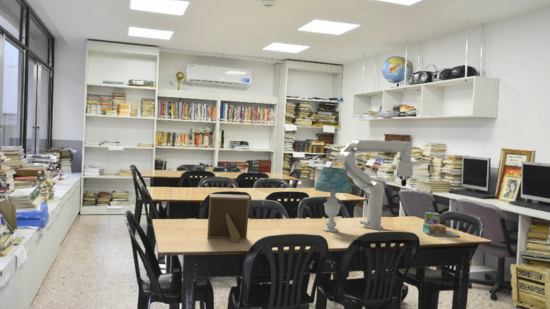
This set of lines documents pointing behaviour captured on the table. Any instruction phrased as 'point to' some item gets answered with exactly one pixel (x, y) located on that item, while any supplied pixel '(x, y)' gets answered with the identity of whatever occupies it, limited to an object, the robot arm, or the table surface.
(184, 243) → the table surface
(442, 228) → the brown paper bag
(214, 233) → the photo frame
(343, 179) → the table lamp
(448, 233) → the mat
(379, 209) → the robot arm
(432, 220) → the colorful lidded canister
